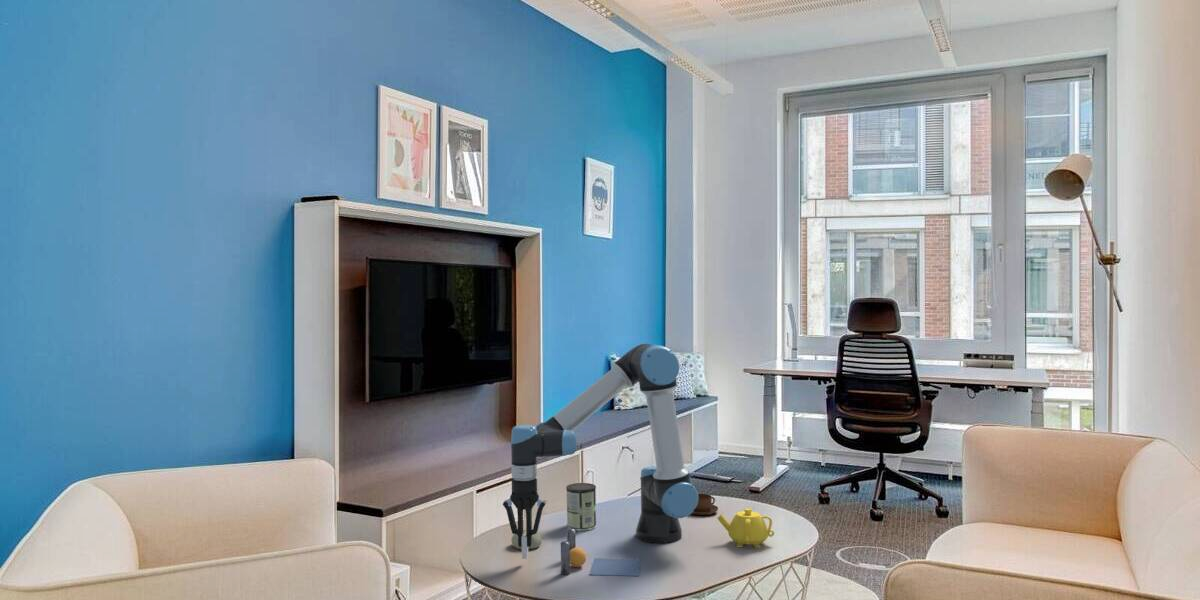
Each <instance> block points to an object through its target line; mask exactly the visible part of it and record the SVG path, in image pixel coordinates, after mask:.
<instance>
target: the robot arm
mask: <svg viewBox="0 0 1200 600" xmlns="http://www.w3.org/2000/svg"><path fill="white" fill-rule="evenodd" d="M611 366H612V367H611V369H610V370H608V371H607V372H606V373H605V374H604V375H602V376H601V377H599V379H597V380H596V381H595V382H594V383H593V384H591V385H590V386H589V387H587V388H586V389H584V391H582V392H581V393H580V394H579V395H578V396H576V397H575V398H574V399H572V400H571V401H569V402H568V404H566V405H565V406H564V407H562V408H561V409H560V410H559V411H558V412H556V413H555V414H554V415H552V417H550V418H548V419H547V420H546V421H544V422H539V423H538V424H536V425H532V424H520V425H515V426H513V427H512V429H511V437H510V438H511V439H510V440H511V441H510V444H511V445H510V448H511V450H510V451H511V456H510V457H511V478H512V479H511V494H510V497H509V498H508V499H505V500H504V501H503V502H502V505H503V507H504V509H505V510H506V514H507V518H508V521H509V526H510V531H511V534H513V535H514V534H516V535H518V545H519V547H522V549H521V559H525V560H526V559H528V557H529V549H528V547H530V546H531V544H532V535H533V534H536V533H537V532H538V531H539V527H540V522H541V517H542V515H543V509H544V507H545V506H546V504H547V500H543V499H541V498H540V496H539V493H538V479H537V477H538V465H537V464H538V462H537V461H538V458H546V457H559V456H562V457H566V456H572V455H574V454H575V453H576V451H577V444H578V443H577V435H576V433H575V431H574V430H575V429H576V428H578V427H579V426H580V425H581V424H583V423H584V422H585V421H586V420H587V419H589V418H590V417H592V416H593V415H594V414H595V413H596V412H597V411H599V410H600V409H601V408H602V407H604V406H605V405H606V404H608V402H610V401H611V400H612V399H614V398H615V397H616V396H617V395H618V394H620V393H621V392H622V391H624V390H625V389H626V388H632V387H634V385H636V384H637V383H639V384H638V385H639V391H640V393H643V394H644V395H645V399H646V406H647V410H648V418H649V420H648V421H649V424H650V433H651V438H652V447H653V452H654V458H655V460H654V461H655V466H645V467H643V468H642V469H641V470H640V506H641V507H640V509H641V511H640V515H639V519H638V522H637V526H636V528H635V536H636V538H637V539H638V540H641V541H644V542H649V543H658V544H659V543H663V544H664V543H672V542H676V541H678V540H680V539H682V536H683V530H682V527H681V524H680V519H684V518H686V517H689V516H690V515H691V514H692V512H693V511H694V509H695V508H696V506H697V504H698V494H699V493H698V490H697V489H696V487H695V485H694V484H692V480H691V473H690V469H689V468H687V467H686V466H685V465H684V458H683V457H684V456H683V450H682V445H681V438H680V431H679V424H678V416H677V411H676V403H675V398H674V390H676V388H677V387H678V385H677V384H678V383H677V377H678V375H679V372H680V362H679V359H678V357H677V355H676V354H675V353H674V351H672V350H671V349H670V348H668V347H666V346H664V345H661V344H660V345H659V344H650V343H641V344H639V345H636V346H634V347H633V348H630V350H628V351H627V352H626V353H625V354H623V355H622V356H621V357H620V358H619V359H618V360H616V361H615V362H614V363H613V364H612V365H611ZM536 503H537V505H536ZM513 505H514V507H515V509H516V510H517V511H516V513H517V521H516V518H515V514H514V510H513V507H512V506H513ZM535 505H536V506H537V507H538V508H537V510H536V514H535V519H534V523H533V521H532V520H533V515H532V514H533V512H532V510H533V508H534V506H535ZM524 510H525V519H526V520H525V523H526V524H525V528H526V529H525V530H526V534H523V532H524V531H523V530H524ZM516 522H517V523H516Z"/></svg>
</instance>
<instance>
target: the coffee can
mask: <svg viewBox="0 0 1200 600" xmlns="http://www.w3.org/2000/svg"><path fill="white" fill-rule="evenodd" d="M565 489H566V521H567V522H566V527H567V528H566V529H569V528H574V529H575V532H586V531H591V530H594V529H596V528H597V503H596V501H597V500H596V496H597V495H596V489H597V487H596V485H595V484H593V483H590V482H589V483H588V482H575V483H571V484H567V485H566V487H565Z"/></svg>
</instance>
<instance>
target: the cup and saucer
mask: <svg viewBox="0 0 1200 600" xmlns="http://www.w3.org/2000/svg"><path fill="white" fill-rule="evenodd" d="M712 500H713V501H712ZM715 502H716V498H715V497H714V496H712V495H710V494H707V493H698V504H697V506H696V508H695V509H694V511H693V512H692V513H691V514H693V515H697V516H708V515H713V514H715V513H717V512H718V510H719V507H718V506H717V505H714V504H715Z"/></svg>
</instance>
